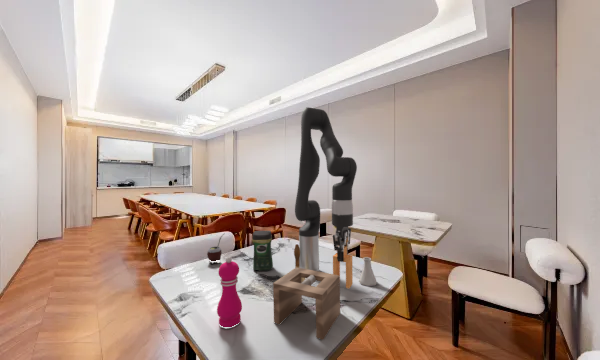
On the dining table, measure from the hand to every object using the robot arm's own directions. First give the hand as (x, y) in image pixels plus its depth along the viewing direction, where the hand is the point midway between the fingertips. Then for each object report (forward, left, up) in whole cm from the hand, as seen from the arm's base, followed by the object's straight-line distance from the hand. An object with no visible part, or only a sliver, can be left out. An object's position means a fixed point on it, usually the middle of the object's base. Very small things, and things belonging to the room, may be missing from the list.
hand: (342, 259), depth 83 cm
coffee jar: (-44, +9, -14) cm, 47 cm away
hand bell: (-21, +3, -14) cm, 25 cm away
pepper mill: (-26, -30, -14) cm, 42 cm away
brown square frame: (-6, -17, -14) cm, 23 cm away
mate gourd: (-72, +5, -14) cm, 74 cm away
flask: (+5, +16, -14) cm, 22 cm away
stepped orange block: (0, 0, -9) cm, 9 cm away
